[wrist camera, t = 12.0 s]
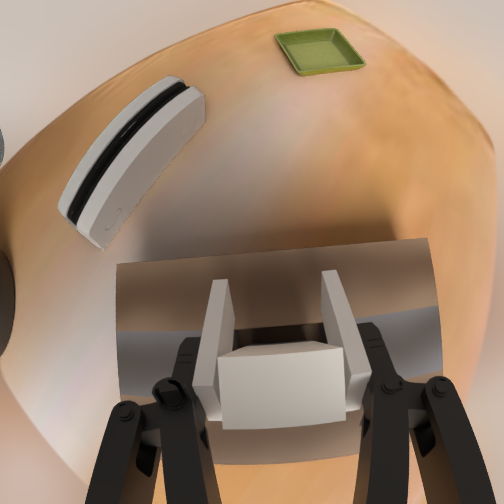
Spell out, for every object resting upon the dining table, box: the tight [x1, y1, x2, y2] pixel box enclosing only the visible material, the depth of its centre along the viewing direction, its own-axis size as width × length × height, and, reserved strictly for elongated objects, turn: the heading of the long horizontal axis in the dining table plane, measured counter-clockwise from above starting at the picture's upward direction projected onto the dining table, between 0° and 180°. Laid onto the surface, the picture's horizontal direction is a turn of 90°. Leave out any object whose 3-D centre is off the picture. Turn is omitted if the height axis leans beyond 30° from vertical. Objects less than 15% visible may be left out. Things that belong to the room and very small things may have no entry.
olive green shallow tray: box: [275, 28, 366, 76], centre depth 30 cm, size 9×9×2 cm
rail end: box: [217, 339, 346, 430], centre depth 15 cm, size 2×4×13 cm, turn 94°
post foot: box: [116, 238, 443, 465], centre depth 20 cm, size 14×22×5 cm, turn 94°
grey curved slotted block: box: [58, 75, 206, 250], centre depth 24 cm, size 17×5×10 cm, turn 146°
